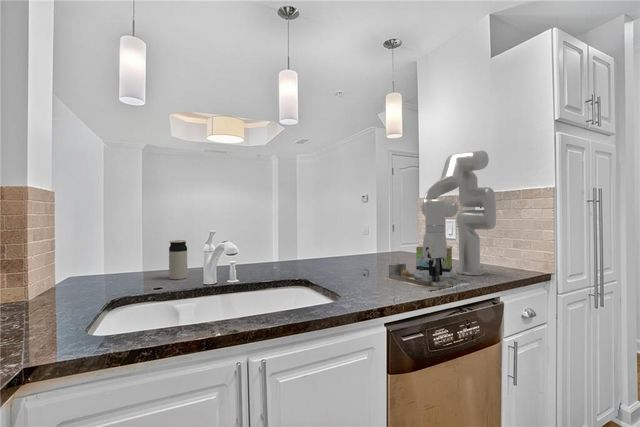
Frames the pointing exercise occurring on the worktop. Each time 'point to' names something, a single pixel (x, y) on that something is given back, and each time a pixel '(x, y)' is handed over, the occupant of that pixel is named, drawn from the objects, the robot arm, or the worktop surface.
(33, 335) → the worktop surface
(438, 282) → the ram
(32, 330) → the worktop surface
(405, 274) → the walnut
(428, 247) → the robot arm
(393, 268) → the press bed
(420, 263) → the tea box
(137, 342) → the worktop surface
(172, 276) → the travel mug
